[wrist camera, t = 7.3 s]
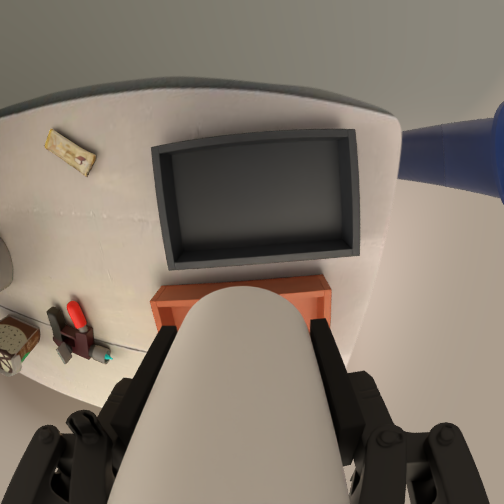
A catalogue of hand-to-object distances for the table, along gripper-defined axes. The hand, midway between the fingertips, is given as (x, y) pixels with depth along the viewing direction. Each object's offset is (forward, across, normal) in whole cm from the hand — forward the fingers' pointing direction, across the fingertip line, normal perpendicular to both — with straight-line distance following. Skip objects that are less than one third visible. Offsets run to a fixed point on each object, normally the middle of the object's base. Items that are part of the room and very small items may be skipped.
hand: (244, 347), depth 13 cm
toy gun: (+19, -27, -11) cm, 35 cm away
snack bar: (+19, -22, +14) cm, 32 cm away
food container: (+19, -44, -14) cm, 50 cm away
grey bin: (+19, +1, +5) cm, 20 cm away
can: (+1, 0, 0) cm, 1 cm away
